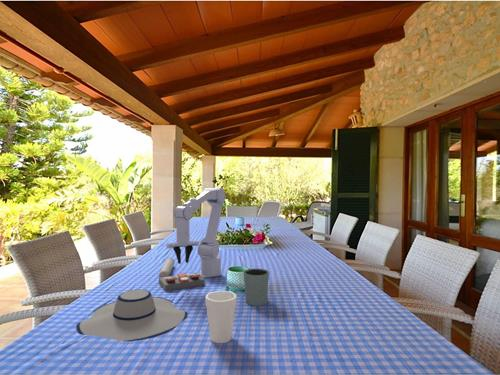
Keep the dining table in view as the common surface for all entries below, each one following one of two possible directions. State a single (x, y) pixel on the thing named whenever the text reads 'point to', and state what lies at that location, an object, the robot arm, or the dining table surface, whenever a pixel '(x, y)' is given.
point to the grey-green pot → (256, 286)
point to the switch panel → (178, 284)
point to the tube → (167, 268)
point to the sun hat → (133, 317)
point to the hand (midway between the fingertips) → (183, 262)
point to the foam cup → (220, 315)
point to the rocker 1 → (183, 277)
